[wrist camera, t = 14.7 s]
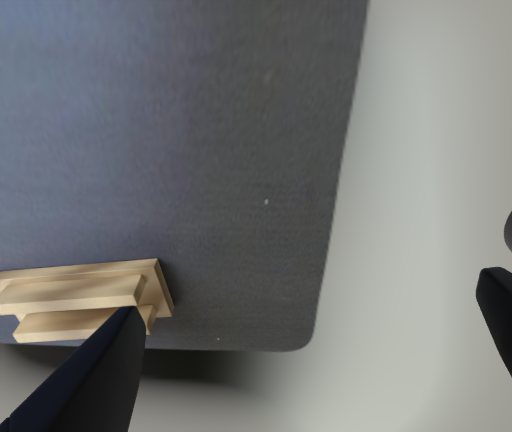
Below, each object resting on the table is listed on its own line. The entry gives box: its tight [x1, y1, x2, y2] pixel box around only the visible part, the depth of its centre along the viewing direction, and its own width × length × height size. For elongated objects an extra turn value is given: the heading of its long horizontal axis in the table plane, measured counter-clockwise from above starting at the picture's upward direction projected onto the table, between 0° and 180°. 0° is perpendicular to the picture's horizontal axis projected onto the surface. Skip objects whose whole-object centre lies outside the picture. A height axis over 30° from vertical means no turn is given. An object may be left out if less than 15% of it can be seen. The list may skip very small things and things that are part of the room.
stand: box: [0, 258, 174, 343], centre depth 27 cm, size 12×5×3 cm, turn 97°
